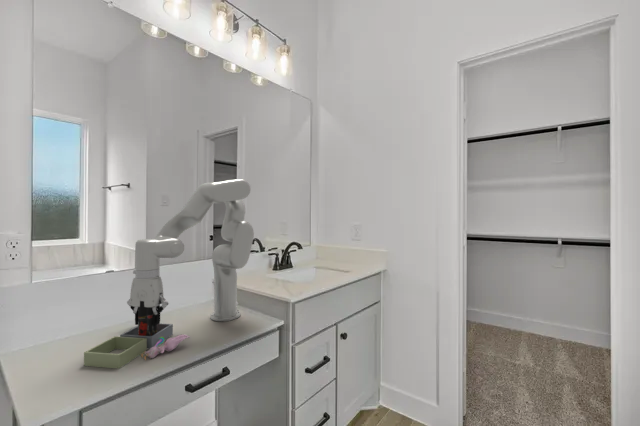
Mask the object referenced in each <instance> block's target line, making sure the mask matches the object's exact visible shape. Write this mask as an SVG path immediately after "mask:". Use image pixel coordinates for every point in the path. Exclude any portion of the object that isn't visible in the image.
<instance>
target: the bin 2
mask: <svg viewBox="0 0 640 426" xmlns="http://www.w3.org/2000/svg"><path fill="white" fill-rule="evenodd" d="M173 327H174V326H173V323H161V322H160V323H159V324H157V333H156V334H154V335H153V336H138V325H135V326H134V327H133V328H131V329H129V330H127V331H124V332H123V333H122V334H119V335H120V336H119V337H133V338H147V350H149V349H150V348H152V347H154V346H155V345H156V343H157V342H158V341H159V340H160V339H159V338H160V337H164V341H166V340H168V339H169V338H171V336H173V335H174V330H173V329H174V328H173Z"/></svg>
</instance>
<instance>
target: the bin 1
mask: <svg viewBox="0 0 640 426" xmlns="http://www.w3.org/2000/svg"><path fill="white" fill-rule="evenodd" d="M114 350H122V352H120V353H112V351H114ZM123 350H124V351H123ZM145 351H148V349H147V338H133V337H120V336H119V335H118V336H117V335H116V336H115V335H114V336H113V337H111V338H109V339H106V340H105V341H103V342H101V343H100V344H97V345H96V346H93V347H92V348H90V349H88V350H86V351H84V352H83V366H84V367H94V368H95V367H96V368H106V369H107V368H108V369H121V368H123V367H124V366H125V364H126V365H127V364H129V363H130V362H132V361H133V360H134V359H136V358H137V357H139V356H141V353H142V354H143V353H144V352H145ZM110 352H111V353H110Z"/></svg>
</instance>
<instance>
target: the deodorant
mask: <svg viewBox="0 0 640 426" xmlns="http://www.w3.org/2000/svg"><path fill="white" fill-rule="evenodd" d="M156 308H157V307H156ZM152 315H154V312H153V309H152V308H147V307H145V306H144V301H140V307H138V325H137V326H138V336H153V335H154V334H156V333H157V325H156V326H153V325H152Z"/></svg>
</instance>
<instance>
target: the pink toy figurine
mask: <svg viewBox="0 0 640 426" xmlns="http://www.w3.org/2000/svg"><path fill="white" fill-rule="evenodd" d="M190 337H191V336H188V334H179V335H176V336H175V337H169V338H167V339H166V340H164V337H160V338H159V339H160V340H159V341H158V342H157V343H156V345H155V346H154V347H152V348H150V349H147V350H146V351H145V352H143V353H141V355H140V357H141V359H143V358H144V360H145V362H146V361H147V357H148V358H149V359H151V358H152V359H154V358H156V357H157V355H159V354H163V353H164V352H165V351H166V352H171V351H173V350H174V349H176V348H177V346H178V345H179V344H180V343H181V342H182V341H184V340H186V339H188V338H190ZM161 344H163V346H159V345H161ZM144 354H145V355H144Z"/></svg>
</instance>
